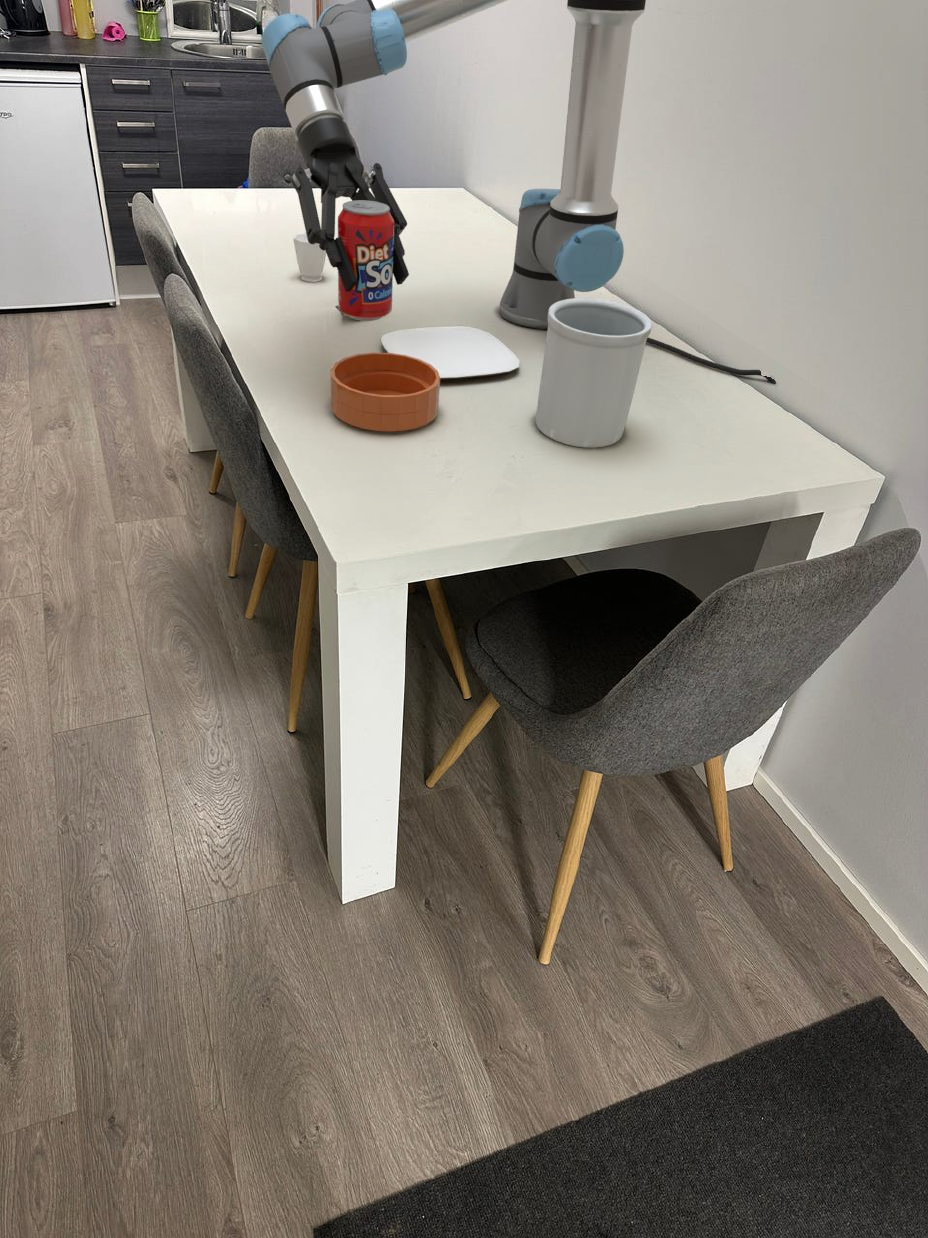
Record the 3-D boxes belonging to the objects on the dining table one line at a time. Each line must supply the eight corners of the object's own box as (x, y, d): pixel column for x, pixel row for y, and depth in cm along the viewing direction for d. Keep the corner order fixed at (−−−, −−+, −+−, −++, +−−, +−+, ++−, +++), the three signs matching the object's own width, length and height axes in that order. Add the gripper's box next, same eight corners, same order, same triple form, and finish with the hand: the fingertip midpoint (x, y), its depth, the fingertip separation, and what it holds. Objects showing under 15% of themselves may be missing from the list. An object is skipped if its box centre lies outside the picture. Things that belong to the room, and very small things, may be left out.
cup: (298, 284, 175) (296, 242, 170) (288, 268, 182) (286, 228, 177) (332, 283, 177) (331, 242, 172) (321, 268, 185) (320, 227, 180)
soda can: (345, 302, 132) (345, 195, 123) (396, 308, 132) (400, 202, 122) (332, 319, 126) (330, 208, 117) (385, 326, 125) (388, 216, 116)
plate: (370, 339, 155) (370, 330, 154) (480, 331, 163) (481, 322, 162) (413, 389, 140) (413, 379, 139) (532, 378, 148) (533, 368, 147)
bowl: (445, 397, 139) (448, 360, 135) (426, 442, 126) (428, 403, 123) (346, 382, 140) (346, 346, 136) (318, 425, 128) (317, 387, 124)
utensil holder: (643, 447, 131) (670, 333, 120) (552, 453, 127) (571, 336, 116) (604, 405, 142) (625, 296, 131) (518, 409, 138) (533, 298, 127)
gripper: (374, 145, 131) (427, 287, 132) (246, 151, 121) (304, 305, 121) (394, 112, 125) (449, 261, 125) (260, 115, 115) (321, 277, 115)
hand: (377, 282), depth 123 cm, fingers closed on soda can, 8 cm apart
